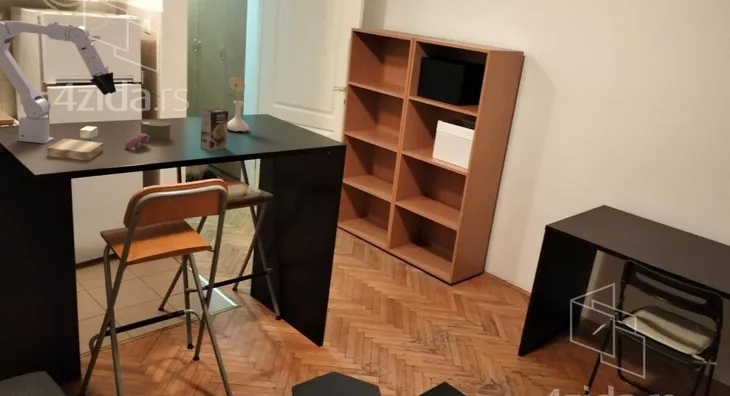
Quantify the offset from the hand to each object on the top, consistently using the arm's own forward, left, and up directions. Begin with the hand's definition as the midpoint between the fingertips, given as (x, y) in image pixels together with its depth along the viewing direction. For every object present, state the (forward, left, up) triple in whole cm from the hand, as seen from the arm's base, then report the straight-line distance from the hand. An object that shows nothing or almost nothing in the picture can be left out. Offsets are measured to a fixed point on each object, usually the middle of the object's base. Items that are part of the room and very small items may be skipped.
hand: (110, 93), depth 219 cm
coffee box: (+37, +15, -21) cm, 45 cm away
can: (+12, +21, -21) cm, 32 cm away
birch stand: (-7, -14, -21) cm, 26 cm away
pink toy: (+9, +4, -21) cm, 23 cm away
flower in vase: (+41, +52, -21) cm, 70 cm away
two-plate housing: (-8, +1, -21) cm, 22 cm away
